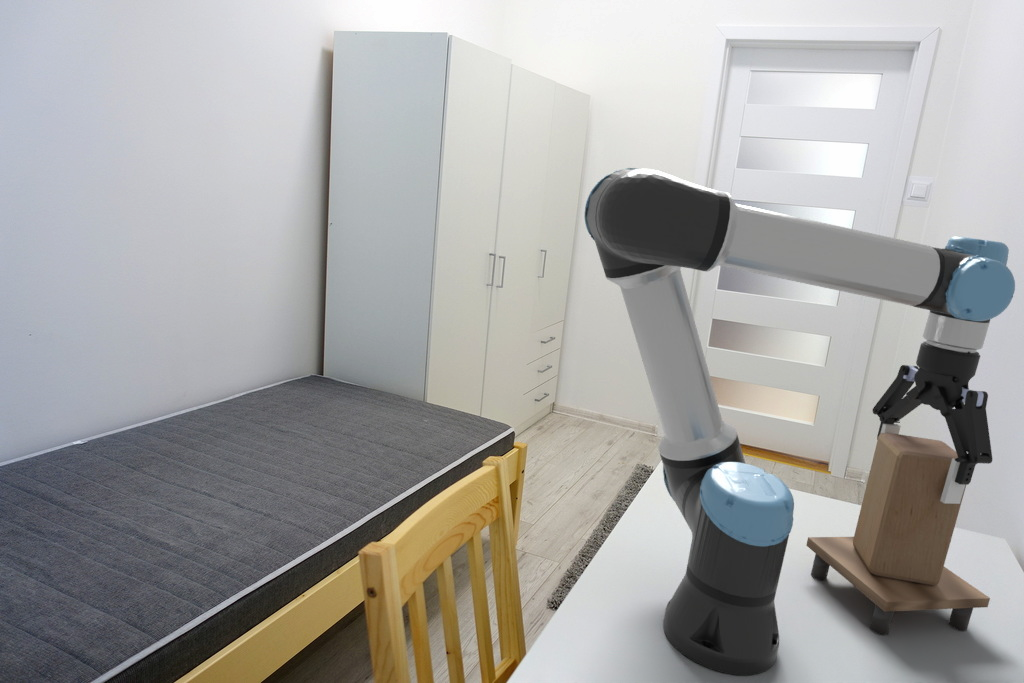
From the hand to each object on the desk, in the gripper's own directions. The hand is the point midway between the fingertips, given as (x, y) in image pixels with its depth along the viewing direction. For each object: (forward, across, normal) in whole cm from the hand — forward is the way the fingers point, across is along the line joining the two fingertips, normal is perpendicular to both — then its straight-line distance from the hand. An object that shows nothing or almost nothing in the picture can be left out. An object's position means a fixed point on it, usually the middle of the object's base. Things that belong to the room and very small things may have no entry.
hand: (913, 481), depth 107 cm
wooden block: (+14, 0, 0) cm, 14 cm away
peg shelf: (+20, 0, -1) cm, 20 cm away
